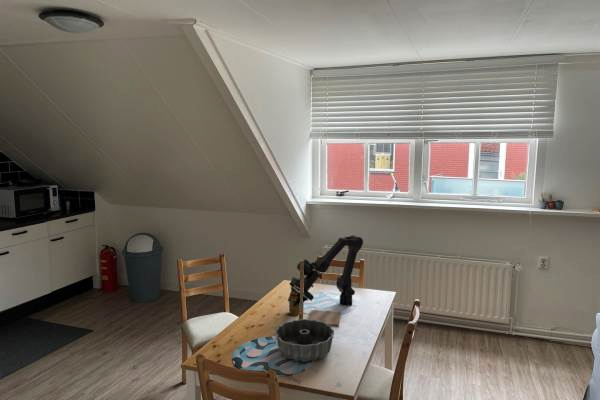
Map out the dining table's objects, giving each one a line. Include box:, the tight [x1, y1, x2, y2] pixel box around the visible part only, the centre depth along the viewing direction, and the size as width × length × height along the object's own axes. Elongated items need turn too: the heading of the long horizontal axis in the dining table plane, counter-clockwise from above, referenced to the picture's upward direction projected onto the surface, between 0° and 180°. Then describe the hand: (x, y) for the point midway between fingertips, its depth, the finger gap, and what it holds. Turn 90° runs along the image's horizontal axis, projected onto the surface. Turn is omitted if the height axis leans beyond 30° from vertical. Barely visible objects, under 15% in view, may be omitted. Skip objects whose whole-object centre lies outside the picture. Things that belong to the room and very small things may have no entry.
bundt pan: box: [274, 318, 335, 362], centre depth 196 cm, size 26×26×10 cm
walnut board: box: [307, 309, 342, 328], centre depth 231 cm, size 16×16×1 cm
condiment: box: [283, 291, 300, 319], centre depth 236 cm, size 7×8×12 cm
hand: (291, 303), depth 235 cm, fingers open, 6 cm apart
